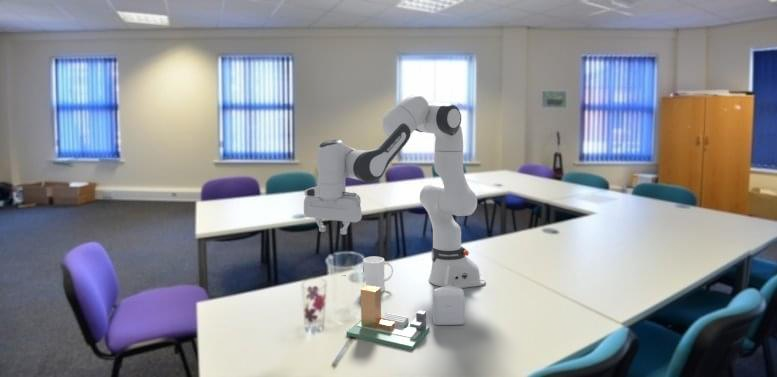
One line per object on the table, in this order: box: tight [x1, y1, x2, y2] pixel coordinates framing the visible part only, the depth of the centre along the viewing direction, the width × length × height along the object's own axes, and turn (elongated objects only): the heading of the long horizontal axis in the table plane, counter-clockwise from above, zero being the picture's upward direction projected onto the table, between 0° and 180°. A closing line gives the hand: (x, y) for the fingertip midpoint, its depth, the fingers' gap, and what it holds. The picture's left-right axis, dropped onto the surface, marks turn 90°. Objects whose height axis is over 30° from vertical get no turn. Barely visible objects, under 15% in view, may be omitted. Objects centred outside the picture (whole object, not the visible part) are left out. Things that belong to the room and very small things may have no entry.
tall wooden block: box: [360, 285, 395, 331], centre depth 152 cm, size 10×4×12 cm, turn 65°
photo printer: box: [432, 286, 465, 326], centre depth 157 cm, size 10×4×12 cm, turn 90°
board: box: [346, 309, 430, 351], centre depth 151 cm, size 22×14×6 cm, turn 65°
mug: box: [362, 255, 394, 293], centre depth 187 cm, size 12×8×12 cm
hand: (332, 232), depth 158 cm, fingers open, 7 cm apart
